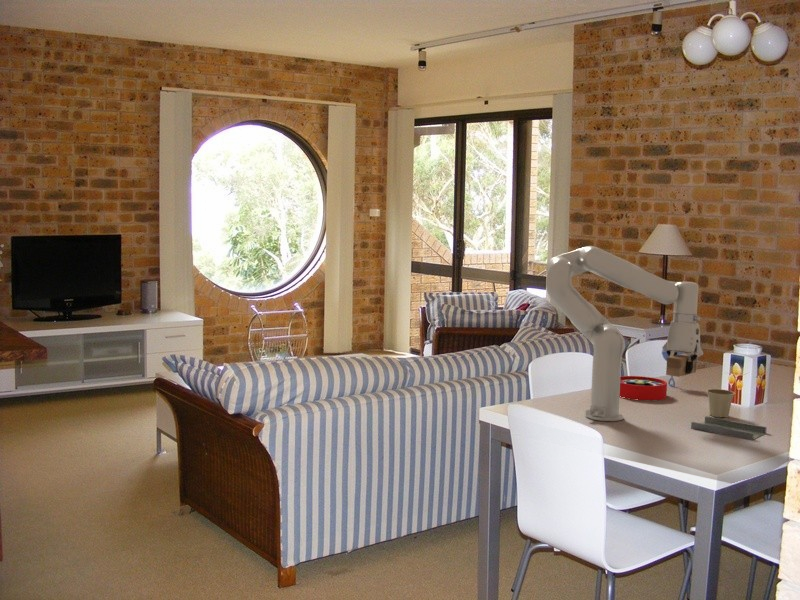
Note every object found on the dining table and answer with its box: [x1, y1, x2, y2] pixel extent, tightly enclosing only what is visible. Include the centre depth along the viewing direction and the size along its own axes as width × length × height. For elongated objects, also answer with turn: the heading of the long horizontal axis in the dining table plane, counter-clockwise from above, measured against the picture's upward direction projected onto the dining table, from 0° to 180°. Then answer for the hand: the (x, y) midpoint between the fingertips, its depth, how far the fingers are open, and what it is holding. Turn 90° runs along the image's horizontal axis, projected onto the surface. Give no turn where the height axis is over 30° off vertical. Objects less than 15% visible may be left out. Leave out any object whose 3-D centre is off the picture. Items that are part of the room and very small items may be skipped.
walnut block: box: [665, 352, 698, 378], centre depth 297 cm, size 13×4×6 cm, turn 137°
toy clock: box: [620, 375, 668, 401], centre depth 340 cm, size 20×6×20 cm
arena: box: [690, 415, 767, 441], centre depth 287 cm, size 12×20×2 cm, turn 49°
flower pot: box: [706, 388, 736, 418], centre depth 308 cm, size 9×9×9 cm
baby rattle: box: [661, 349, 685, 387], centre depth 359 cm, size 9×9×18 cm
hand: (681, 371), depth 298 cm, fingers closed on walnut block, 4 cm apart
